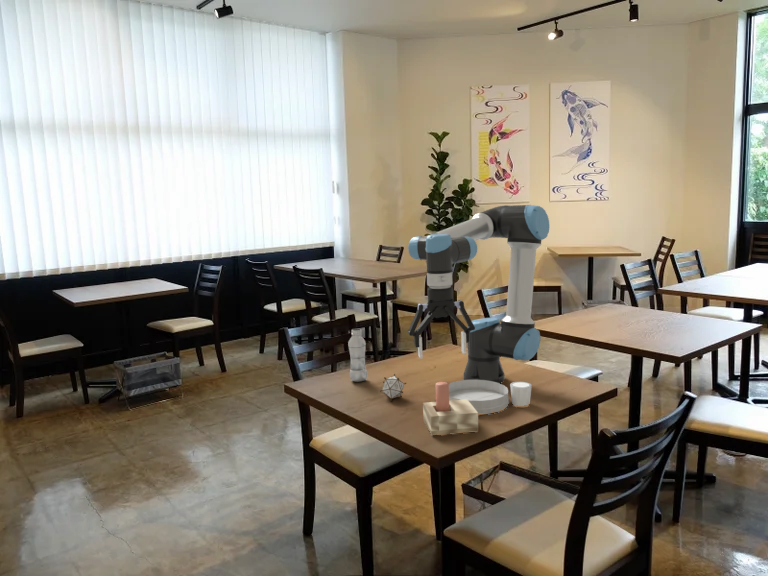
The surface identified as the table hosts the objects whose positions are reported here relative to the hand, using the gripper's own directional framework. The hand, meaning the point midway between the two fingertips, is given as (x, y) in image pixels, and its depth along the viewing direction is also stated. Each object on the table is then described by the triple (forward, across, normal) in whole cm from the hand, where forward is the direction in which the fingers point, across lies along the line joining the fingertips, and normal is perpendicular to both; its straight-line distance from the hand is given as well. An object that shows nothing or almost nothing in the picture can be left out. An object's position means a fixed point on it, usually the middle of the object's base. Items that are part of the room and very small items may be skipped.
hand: (442, 355), depth 185 cm
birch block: (+21, 0, -5) cm, 22 cm away
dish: (+22, +14, +13) cm, 29 cm away
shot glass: (+22, +28, +8) cm, 36 cm away
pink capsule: (+20, -2, -4) cm, 20 cm away
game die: (+22, -12, +25) cm, 35 cm away
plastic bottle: (+22, -21, +47) cm, 56 cm away
